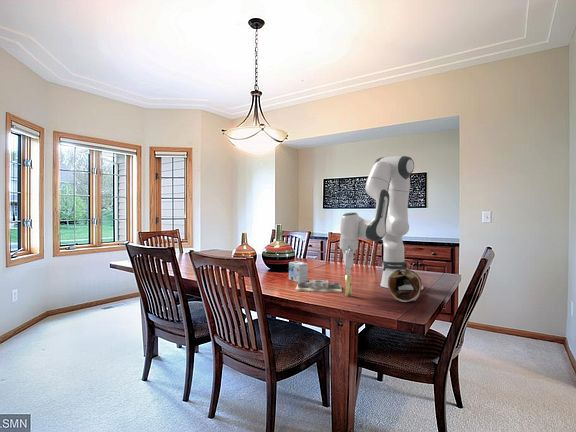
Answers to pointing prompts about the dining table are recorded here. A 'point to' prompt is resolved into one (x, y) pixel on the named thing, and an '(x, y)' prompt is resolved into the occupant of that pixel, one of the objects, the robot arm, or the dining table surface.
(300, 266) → the light bulb box
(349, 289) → the brass pin
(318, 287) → the chain ends board
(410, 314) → the dining table surface
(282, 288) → the dining table surface
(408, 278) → the clay pot
